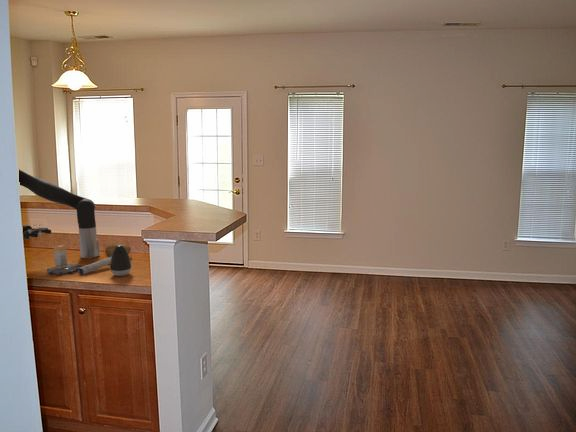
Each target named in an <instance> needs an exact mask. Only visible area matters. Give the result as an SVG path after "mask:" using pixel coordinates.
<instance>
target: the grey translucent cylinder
mask: <svg viewBox="0 0 576 432" xmlns="http://www.w3.org/2000/svg"><path fill="white" fill-rule="evenodd" d="M53 256H54V266H55V267H59V268H62V267H65V266H67V264H68V259H67V258H68V257H67V248H66V245H65V244H58V245H54V246H53Z"/></svg>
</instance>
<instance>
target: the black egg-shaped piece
mask: <svg viewBox="0 0 576 432" xmlns="http://www.w3.org/2000/svg"><path fill="white" fill-rule="evenodd" d="M129 254H130V253H129ZM129 254H128V252H127V250H126V248H125V247H124V246H121V245H119V246H116V247H115V249H114V250H113V253H112V257H111V262H110V265H109V270H111V273H112V275H114V276H116V277H125V276H127V275H129V274H130V272H131V269H132V261H131V258H130V255H129Z"/></svg>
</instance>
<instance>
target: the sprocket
mask: <svg viewBox="0 0 576 432" xmlns="http://www.w3.org/2000/svg"><path fill="white" fill-rule="evenodd" d="M81 267H82V264H73V263H67V266H65V267H62V268H59V267H55V265H54V266H52V267H47V268H46V274H47V275H48V276H49V275H55V276H57V277H58V276H60V277H61V276H62V275H74V274H75V273H77V272H78V269H79V268H81Z"/></svg>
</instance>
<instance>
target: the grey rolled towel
mask: <svg viewBox="0 0 576 432" xmlns="http://www.w3.org/2000/svg"><path fill="white" fill-rule="evenodd" d="M110 262H111V257H109V258H108V257H107V258H104V259H101V260H98V261H95V262H93V263H90V264H84V265H83V266H81V268H79V269H78V271H77V272H78V274H79V275H80V276H85V275H87V274H89V273H92V272H94V271H96V270H98V269H101V268H103V267H105V266H107V265H109V264H110Z"/></svg>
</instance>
